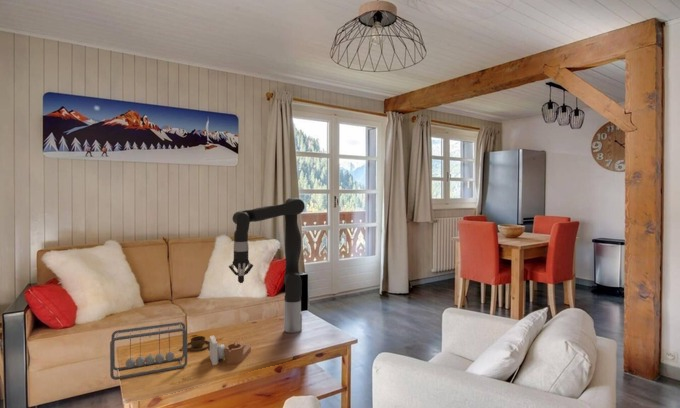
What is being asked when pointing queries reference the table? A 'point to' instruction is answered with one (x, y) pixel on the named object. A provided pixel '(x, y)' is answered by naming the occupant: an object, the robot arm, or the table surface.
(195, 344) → the place setting
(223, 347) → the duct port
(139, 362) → the newton's cradle
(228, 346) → the bracket
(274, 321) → the table surface
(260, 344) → the table surface
